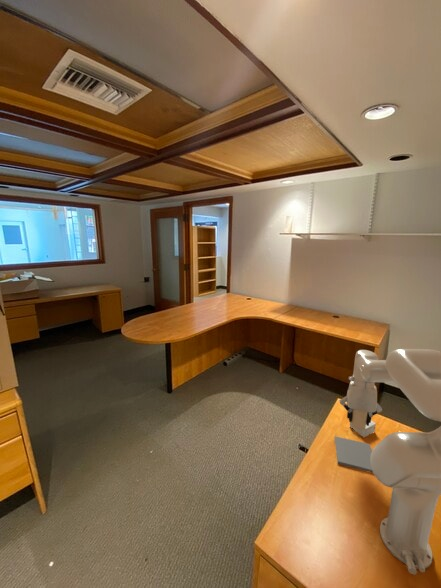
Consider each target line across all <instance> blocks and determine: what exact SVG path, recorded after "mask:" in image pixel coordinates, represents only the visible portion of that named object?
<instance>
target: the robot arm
mask: <svg viewBox="0 0 441 588" xmlns="http://www.w3.org/2000/svg"><path fill="white" fill-rule="evenodd" d="M348 380H349V381H350V382H349V385H348V388H347V391H346V392H347V393H346V396H344V397H342V398H340V400H339V403H340V405H341V406H342V407H343V408H344V409H345V410H346V411H347V413H346V418H347V419H348V421H349V423H350V422H351V421H352V410H353V409H356V410H361V411H366V412H368V413H367V420H366V425H367V426H369V423H371V420H372V418H373V416H375V415H377V414H378V413H380V412H381V413H382V412H383V409H382V406H381V405H380V404H379V402H378V391H377V386H376V385H375V383H395V385H396V386H397V387H398V388H399V389H400V390H401V392H402V393H403V394H404V396H406V398H407V399H408V400H409V401H410V403H411V404H412V405H413V406H414V408H416V410H418V411H419V413H420V414H422V415H423V416H424V417H426V418H427V419H429V420H433V421H435V422H441V351H440V350H437V349H429V348H398V349H393V350H392V351H390V352H389V353H388V354H387V356H386V359H383V360H382V359H381V360H380V359H379V357H378V354H377V353H376V352H374V351H371V350H367V349H359V350H357V351H356V353H355V357H354V365H353V374H352V375H351V376H348ZM371 450H372V452H371V456H370V464H371V468H372V471H373V473H372V474H373V475H374V476H375V478H376V480H378V482H379V483H381V484H382V485H384V486H385V487H387V488H392V492H391V498H390V502H389V503H390V504H389V509H388V515H387V517H385V518H383V519H382V520H381V521H380V524H379V525H380V526H379V534H380V537H381V538H380V539H381V541H383V544H384V545H385V547H386V548H387V550H388V551H389V552H390V553H391V554H392V555H393V556H394V558H396V559H398V561H400V562H401V563H403V564H404V565H406V568H407V570H408V573H410V574H412V575H417V574H418V571H417V570H419V572H421V573H425V572H426V569H427V568H429V567H430V566H431V564H432V562H433V558H434V557H433V556H434V555H433V552H432V548H431V545H430V543H429V539H430V534H431V529H432V524H433V520H434V515H435V513H436V512H435V511H436V507H437V503H438V500H439V498H440V496H441V425H440V426H439V427H438V428H436V429H435V430H432V431H428V432H426V431H423V432H420V431H417V432H413V431H412V432H411V431H397V432H396V431H395V432H392V433H389V434H387V435H386V436H385V437H383V439H382V440H381V441H379V442H378V443H377V444H375V446H374V447H373V449H371Z"/></svg>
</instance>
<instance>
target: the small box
mask: <svg viewBox="0 0 441 588" xmlns="http://www.w3.org/2000/svg"><path fill="white" fill-rule="evenodd" d="M376 424H377V422H374V421H373V420H372V419H371V423H369V426H367V425H366V427H365V429H364V430H358V429H355V428H354V427H352V426H351V424H350V423H349V426H350V427H351V428H353V429H354V430H355V431H354V430H353V429H352V430H353V431H354V432H355V433H357V432H358V433H359V434H358V433H357V434H358V435H359V436H361V437H362V436H363V437H362V438H364V437H365V438H366V437H368V436H370V435H371V434H374V433H375V432H376V430H375V429H376ZM350 427H349V428H350ZM351 428H350V429H351ZM373 432H374V433H373ZM369 434H370V435H369Z"/></svg>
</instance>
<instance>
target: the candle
mask: <svg viewBox="0 0 441 588" xmlns="http://www.w3.org/2000/svg"><path fill="white" fill-rule="evenodd" d="M367 413H368V412H366V411H361V410H356V409H353V410H352V421H351V422H349V425H350V424H351V426H352V427H354V428H355V429H358V430H364V429H365V427H366V420H367Z"/></svg>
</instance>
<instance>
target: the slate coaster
mask: <svg viewBox="0 0 441 588" xmlns="http://www.w3.org/2000/svg"><path fill="white" fill-rule="evenodd" d="M334 444H335V445H334V446H335V452H336V453H335V454H336V463H337V464H338V465H341V466H345V467H349V468H353V469H357V470H361V471H364V472H368V473H372V474H374V473H373V471H372V468H371V464H370V456H371V452H372V450H373V449H372V447H371V444H370V443H367V442H362V441H358V440H353V439H349V438H346V437H341V436H340V437H339V436H335V435H334Z"/></svg>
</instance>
